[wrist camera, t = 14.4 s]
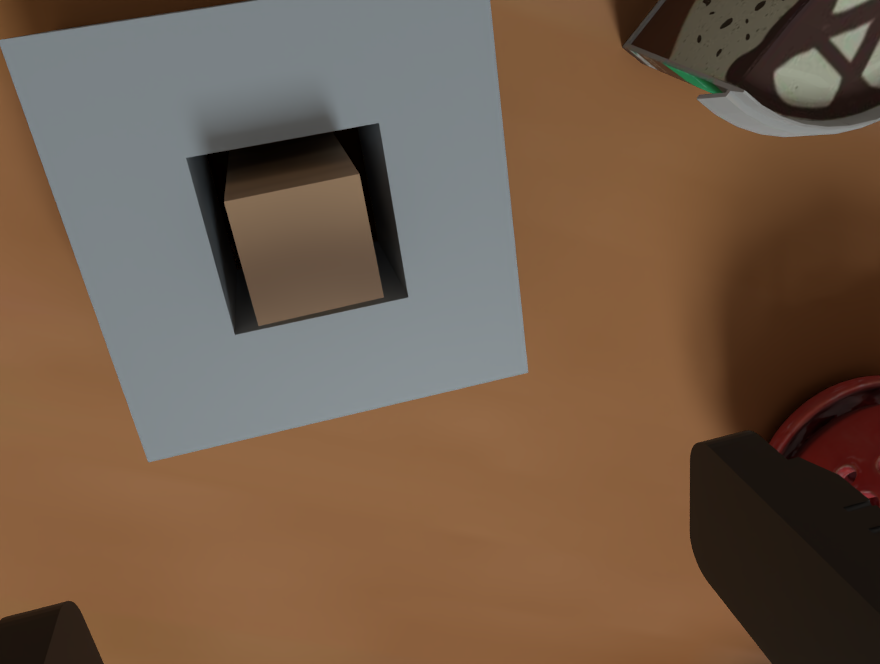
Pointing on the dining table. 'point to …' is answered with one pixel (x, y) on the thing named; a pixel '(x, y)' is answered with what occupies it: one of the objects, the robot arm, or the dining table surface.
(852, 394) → the plant pot
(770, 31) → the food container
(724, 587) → the robot arm
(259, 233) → the square peg
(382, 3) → the socket block
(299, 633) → the dining table surface
